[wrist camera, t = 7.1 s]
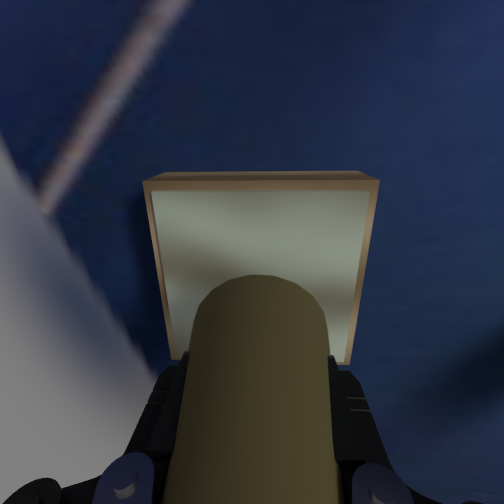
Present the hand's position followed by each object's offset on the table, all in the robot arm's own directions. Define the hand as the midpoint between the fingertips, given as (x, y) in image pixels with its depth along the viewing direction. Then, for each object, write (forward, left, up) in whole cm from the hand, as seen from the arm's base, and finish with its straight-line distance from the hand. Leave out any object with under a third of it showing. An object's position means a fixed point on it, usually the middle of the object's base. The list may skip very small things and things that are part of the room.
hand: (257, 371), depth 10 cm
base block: (0, 0, -10) cm, 10 cm away
